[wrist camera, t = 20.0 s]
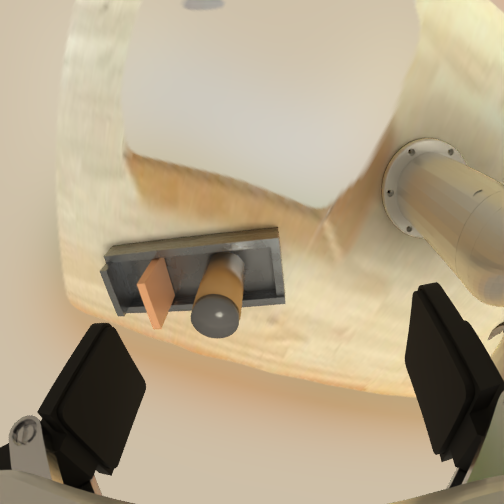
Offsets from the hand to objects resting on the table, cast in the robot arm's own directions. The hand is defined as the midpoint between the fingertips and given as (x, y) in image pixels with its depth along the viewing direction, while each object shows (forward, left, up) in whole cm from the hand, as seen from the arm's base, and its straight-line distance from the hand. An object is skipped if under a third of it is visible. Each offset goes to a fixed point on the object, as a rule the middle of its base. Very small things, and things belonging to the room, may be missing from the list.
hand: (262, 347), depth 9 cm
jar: (+7, +13, -28) cm, 31 cm away
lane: (+11, +13, -29) cm, 33 cm away
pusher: (+15, +13, -27) cm, 34 cm away
